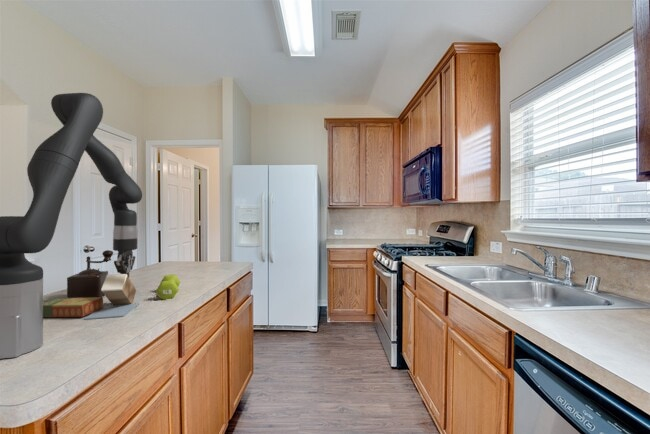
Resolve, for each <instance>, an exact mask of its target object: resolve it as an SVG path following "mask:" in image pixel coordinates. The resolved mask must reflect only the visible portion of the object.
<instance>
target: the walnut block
mask: <svg viewBox="0 0 650 434" xmlns="http://www.w3.org/2000/svg"><path fill="white" fill-rule="evenodd" d="M101 291H102V292H103V293H104V296H105V297H106V298H107V300H108V301H109V302H110V303H111V305H123V304H134V299H135V295H136V293H137V289H136V286H134V284H133V282H132V281H131V279H130V276H129V277H128V275H127V274H120V273H116V274H113V273H112V274H108V275H107V276H106V279H105V281H104V284H103V286H102V289H101Z"/></svg>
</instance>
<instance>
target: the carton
mask: <svg viewBox="0 0 650 434" xmlns="http://www.w3.org/2000/svg"><path fill="white" fill-rule="evenodd" d="M103 298H104V296H103V297H90V298H67V297H58V298H55V299H52V300H49V301H46V302H43V318H70V317H71V318H72V317H73V318H74V317H75V318H80V317H83V318H84V317H86V316H89V315H90V314H92V313H94V312H95V311H98V310H100V309H102V308H103V306H104V299H103Z"/></svg>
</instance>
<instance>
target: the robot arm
mask: <svg viewBox="0 0 650 434" xmlns="http://www.w3.org/2000/svg"><path fill="white" fill-rule="evenodd" d="M50 105H51V109H52V111H53V114H54V115H55V116H56V118H57V119H58V121H59V122H60V123H61V125H63V126H62V127H61V128H60V129H59V130H57V131H56V132H54V133H53V134H51V135H50V136H49V137H48V138H46V139H45V140H43V142H42V143H40V144H39V145H38V147H37V148H36V149H35V151H34V153H33V154H32V156H31V158H30V161H29V162H28V165H27V168H26V171H27V176H28V181H29V183H30V186H31V189H32V193H33V195H32V200H31V203H30V206H29V207H28V210H27V212H26V213H25V214H24V215H23V216H22V215H21V216H20V215H19V216H17V215H16V216H15V215H9V216H8V215H7V216H6V215H5V216H0V360H1V359H9V358H11V359H12V358H17V357H19V356H21V355H25V354H27V353H30V352H33V351H35V350H37V349H39V348H41V347H42V346H43V344H44V317H43V303H44V269H43V267H41V266H40V265H37V264H34V263H33V262H30V261H29V260H28V259H27V258H26V255H25V254H37V253H40V252H42V251H43V250H46V248H47V247H48V246H49V244H50V243H51V242H52V239H53V237H54V235H55V232H56V229H57V225H58V220H59V217H60V213H61V211H62V207H63V203H64V201H65V198H66V195H67V193H68V191H69V188H70V185H71V184H72V180H73V179H74V177H75V174H76V173H77V170H78V167H79V165H80V161H81V160H82V157H83V155H84V153H85V152H86V153H87V154H88V156H89V158H90V159H91V160H92V162H93V164H94V165H95V167H96V168H97V170H98V172H99V173H100V174H101V177H102V178H103V180H104V181H105V182H106V183H108V184H111V185H113V186H112V187H111V188H110V189H109V192H108V199H109V203H110V206H111V209H112V213H113V216H114V217H113V219H114V220H113V231H112V233H113V234H112V251H115V252H117V257H116V260H114V261H113V264H114V268H115V269H116V271H117V274H127V275H128V277H129V278H130V273H131V271H132V270H133V267H134V264H135V260H136V256H134V254H133V251H134V250H135V251H136V250H137V249H138V227H137V226H138V225H137V223H138V214H137V212H136V211H135V210H133V209H129V208H128V204H131V205H133V204H137V203H140V202H141V201H142V200H143V199H142V198H143V191H142V189H141V187H140V186H139V185H138V183H137V182H136V181H135V180H134V179H133V178H132V177H131V176H130V175H129V174H128V173H127V172H126V170H125V168H124V166H123V164H122V162H121V161H120V158H118V156H117V155H116V154H115V153H114V152H113V151H112V150H111V149H110V148H108V146H107V145H105V144H104V143H103V142H101V141H100V140H99V139H98V138H97V137H96V136H95V135H94V133H95V132H96V130H97V128H98V127H99V125H100V124H101V122H102V120H103V116H104V108H103V105H102V102H101V101H100V100H99V98H98V97H97V96H95V95H93V94H92V93H87V92H71V93H59V94H55V95H54V96H53V97H52V99H51V101H50Z"/></svg>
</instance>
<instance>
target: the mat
mask: <svg viewBox="0 0 650 434" xmlns="http://www.w3.org/2000/svg"><path fill="white" fill-rule="evenodd" d="M138 306H139V303H132V304H123V305H112V304H110V305H103V308H102V309H100V310H98V311H95V312H93V313H90V314H88V315H86V316H85V317H83V320H85V321H86V320H87V321H88V320H97V319H98V320H99V319H111V318H113V319H114V318H123V317H125V316H127V315H128V314H129V313H130V312H131V311H133V310H134V309H136V307H138Z"/></svg>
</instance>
